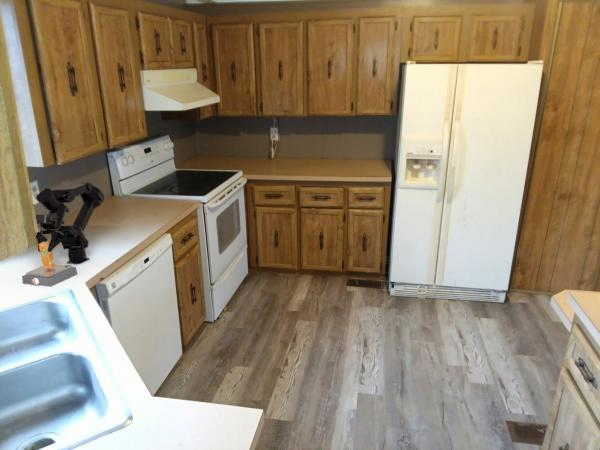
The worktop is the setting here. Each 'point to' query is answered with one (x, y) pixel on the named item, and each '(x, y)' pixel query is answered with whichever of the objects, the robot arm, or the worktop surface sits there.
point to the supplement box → (46, 255)
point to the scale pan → (49, 270)
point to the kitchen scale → (49, 278)
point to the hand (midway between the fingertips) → (44, 251)
